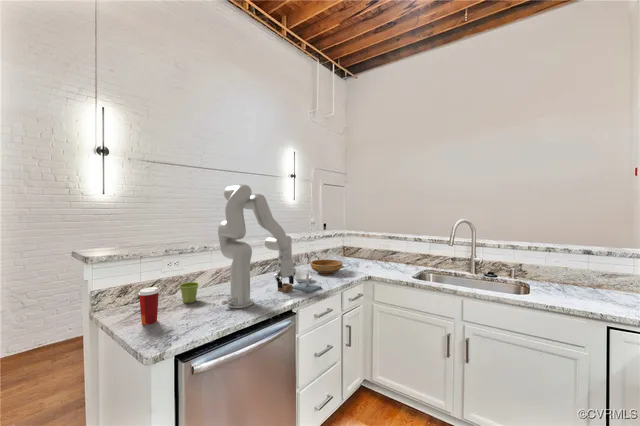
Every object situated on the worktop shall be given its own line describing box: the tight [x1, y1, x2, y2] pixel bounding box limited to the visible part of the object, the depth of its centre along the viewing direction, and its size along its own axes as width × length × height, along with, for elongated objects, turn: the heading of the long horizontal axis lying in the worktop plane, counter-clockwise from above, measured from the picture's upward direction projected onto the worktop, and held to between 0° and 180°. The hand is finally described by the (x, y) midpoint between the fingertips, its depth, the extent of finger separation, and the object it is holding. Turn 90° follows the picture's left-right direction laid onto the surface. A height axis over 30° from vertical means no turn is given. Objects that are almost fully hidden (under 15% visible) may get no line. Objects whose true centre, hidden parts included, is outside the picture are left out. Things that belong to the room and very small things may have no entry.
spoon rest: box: [293, 267, 313, 284], centre depth 188 cm, size 24×12×7 cm, turn 38°
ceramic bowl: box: [309, 259, 345, 276], centre depth 207 cm, size 30×24×8 cm
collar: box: [277, 282, 293, 294], centre depth 164 cm, size 6×6×4 cm
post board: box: [292, 272, 322, 294], centre depth 168 cm, size 12×14×9 cm
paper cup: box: [138, 286, 160, 326], centre depth 119 cm, size 8×8×14 cm
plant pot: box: [179, 281, 200, 304], centre depth 145 cm, size 9×9×9 cm
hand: (285, 285), depth 164 cm, fingers open, 9 cm apart
